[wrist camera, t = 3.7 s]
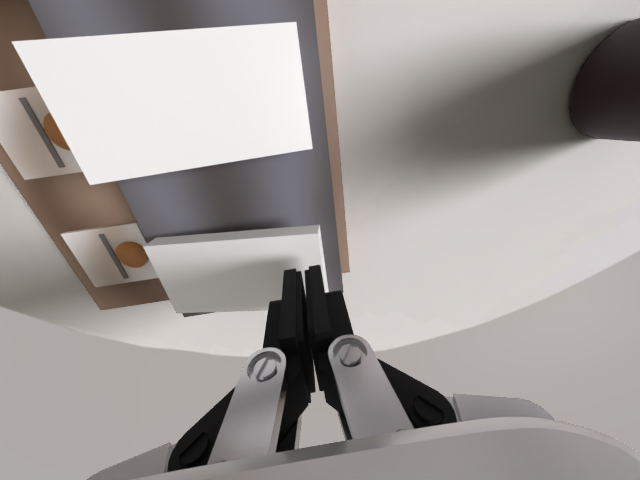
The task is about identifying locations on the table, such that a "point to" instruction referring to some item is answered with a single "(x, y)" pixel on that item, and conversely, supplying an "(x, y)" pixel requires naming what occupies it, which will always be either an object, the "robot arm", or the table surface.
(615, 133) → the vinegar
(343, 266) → the rocker switch unit
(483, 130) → the table surface
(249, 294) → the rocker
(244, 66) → the rocker middle
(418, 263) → the table surface
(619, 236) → the table surface
